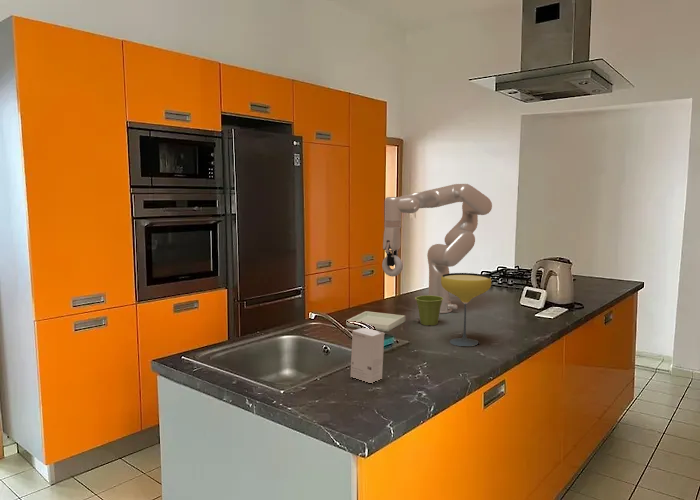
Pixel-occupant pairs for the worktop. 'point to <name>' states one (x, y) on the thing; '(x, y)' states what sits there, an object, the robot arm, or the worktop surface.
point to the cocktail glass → (465, 295)
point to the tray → (378, 320)
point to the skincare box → (367, 355)
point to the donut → (396, 270)
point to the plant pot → (429, 309)
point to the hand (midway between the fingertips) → (392, 264)
